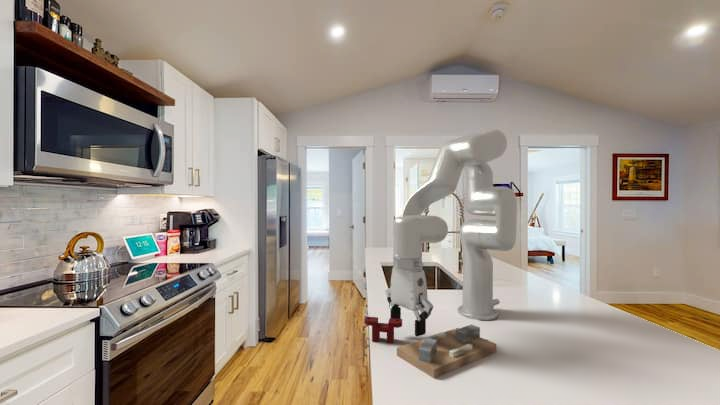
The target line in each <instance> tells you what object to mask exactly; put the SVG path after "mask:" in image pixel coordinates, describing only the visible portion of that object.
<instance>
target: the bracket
mask: <svg viewBox="0 0 720 405" xmlns="http://www.w3.org/2000/svg"><path fill="white" fill-rule="evenodd" d="M363 322H364V325H366V326H370V327H371V342H377V343H378V342H379V341H380V337H381V333H386V343H391V344H394V340H395V329H397V328H402V327H403V318H401V319H393V318H390V317H389V318H388V322H387V323H386V322H385V323H384V322H379V317H378V316H364V321H363Z"/></svg>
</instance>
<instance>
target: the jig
mask: <svg viewBox="0 0 720 405" xmlns="http://www.w3.org/2000/svg"><path fill="white" fill-rule="evenodd" d="M480 333H481V327H480V326H476V325H474V324H469V325H465V326H463V327H459V328H458V327H455V328H453V329H451V330H446V331H444V332H443V331H441V332H439V333H436V334H432V335H429V336H427V337H423V338H422V339H419V340H417V341H413V342H410V343H407V344H404V345H401V346H397V347H396V356H397V357H399V358H400V359H402V360H403V361H405V362H406V363H408V364H410V365H411V366H413V367H415V368H416V369H418V370H419V371H421V372H422V373H425V375H427V376H429V377H431V378H433V379H435V378H438V377H441V376H444V375H445V374H448V373H450V372H453V371H456V370H458V369H460V368H462V367H465V366H467V365H470V364H472V363H474V362H476V361H477V362H478V361H479V360H481V359H484V358H486V357H489V356H490V355H493V354H495V353H497V343H495V342H493V341H491V340H488V339H485V338H482V337H481V334H480Z"/></svg>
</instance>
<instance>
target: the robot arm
mask: <svg viewBox="0 0 720 405" xmlns="http://www.w3.org/2000/svg"><path fill="white" fill-rule="evenodd" d="M507 145H508V141H507V137H506V134H504V132H502V131H501V130H500V129H499V130H498V129H492V130H486V131H480V132H476V133H469V134H465V135H461V136H459V137H457V138H454V139H449V140H447V141H445V142H443V143H442V144H441V146H440V148H439V149H438V153H437V155H436V158H435V160H434V163H433V165H432V168H431V171H430V173H429V177H428V179H427V180H426V182H425V183H423V184H422V185H421V186H420V187H419V188H418V189H417V190H416V191H415V192H414V193H413V194H412V195H411V196H410V197H409V198H408V199H407V201H406V202H405V204H404V206H403V209H402V211H401V215H400V216H398V217H395V218H394V219H393V223H392V224H393V226H392V227H393V230H392V232H393V233H392V234H393V235H392V236H393V241H392V242H393V243H392V245H393V249H392V250H393V251H392V252H393V254H392V255H393V256H392V266H393V267H392V269H391V277H390V287H388V288H386V289H385V295H386V300H387V303H388V304H389V305H388V308H389V309H390V317H389V318H393V319H402V316H401V315H402V314H401V313H402V311H401V310H402V309H401V307H402V308H404V309H407V310H409V311H413V313H414V316H415V318H416V319H415V320H414V335H415V337H420V336H425V334H426V333H427V332H426V330H427V326H426V325H427V324H426V322H427V321H426V320H428V318H429V317H430V316H431V314H432V311H433V309H434V305H433V304H432V303H431V302H430V300H429V299H428V287H427V278H426V274H425V273H426V272H425V270H423V267H424V263H423V244H424V243H426V244H437V243H441V242H443V241H444V240H445V238H446V237H447V235H448V232H449V226H448V223H447V222H446V221H445V219H444V218H442V217H440V216H437V215H425V214H423V213H424V211H425V210H426V209H427V208H429V206H431V205H432V204H434V203H436V202H439V201H440V200H443V199H445V198H446V197H447V198H448V196H451V195H452V194H454V192H455V191H457V190H456V189H457V187H458V183H459V180H460V178H461V175H462V172H463V169H464V172H465V210H466V211H467V213H468V214H470V215H473V216H480V217H481V216H482V217H484V216H486V217H496V220H494V219H493V220H492V219H491V220H489V219H477V218H475V219H467V220H466V221H464V222H463V223H462V225H461V226H460V227H459V240H460V244H461V251H462V305H460V306H458V307H457V313H458V314H459V315H461V316H463V317H465V318H467V319H472V320H477V321H490V320H491V321H492V320H496V319H497V318H498V317H499V312H498V311H497V310H496V309H495V306H497V305H500V303H501V301H500V299H499V298H494V297H493V296H494V294H493V293H494V280H493V279H494V263H493V262H494V261H493V258H492V255H490V252H489V251H488V250H492V251H497V252H498V251H499V252H508V251H510V250H513V248H514V247H515V244H516V241H517V226H518V225H517V224H518V223H517V221H518V220H517V218H518V217H517V216H518V201H517V196H516V193H515V192H514V190H513V189H512V188H510V187H507V186H494V172H493V170H492V168H491V166H490V165H489V162H491V161H494V160H496V159H498V158H501V157H502V156H503V155H504V153H505V152H506V150H507V148H508V147H507Z"/></svg>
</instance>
